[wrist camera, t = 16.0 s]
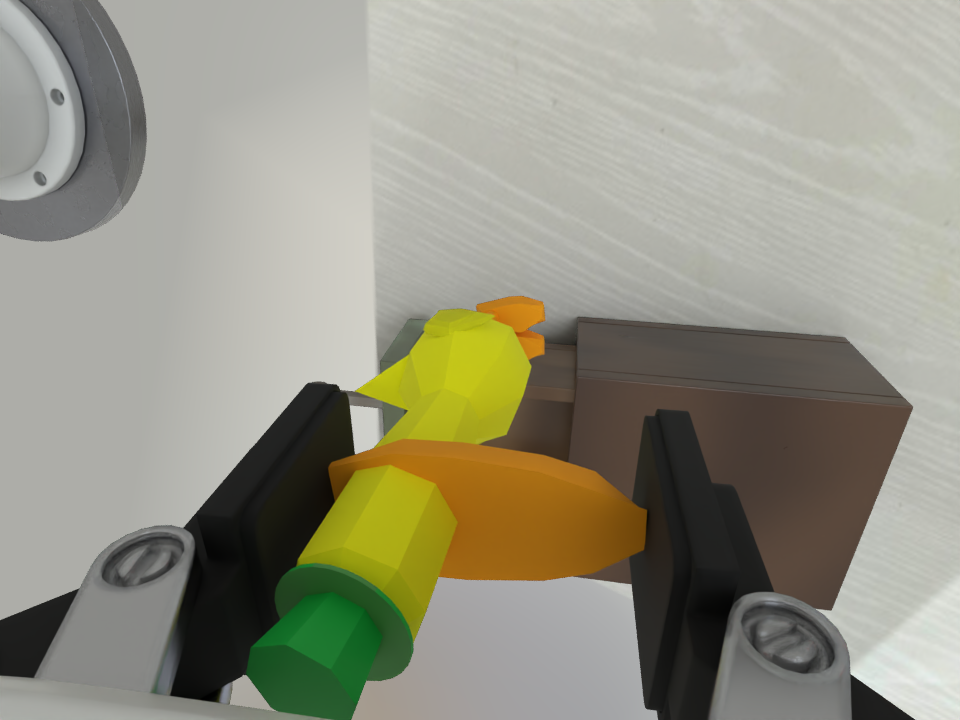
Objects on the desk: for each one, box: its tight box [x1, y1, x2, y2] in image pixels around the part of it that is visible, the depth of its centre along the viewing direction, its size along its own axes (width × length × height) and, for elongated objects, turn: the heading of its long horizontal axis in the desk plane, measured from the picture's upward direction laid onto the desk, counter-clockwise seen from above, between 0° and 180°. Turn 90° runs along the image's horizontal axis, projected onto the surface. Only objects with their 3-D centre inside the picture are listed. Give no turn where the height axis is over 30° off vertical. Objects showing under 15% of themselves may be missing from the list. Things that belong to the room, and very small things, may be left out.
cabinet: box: [567, 317, 913, 611], centre depth 33 cm, size 15×13×8 cm
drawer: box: [312, 319, 576, 462], centre depth 35 cm, size 18×11×6 cm, turn 89°
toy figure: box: [246, 296, 647, 720], centre depth 12 cm, size 7×4×12 cm, turn 94°
